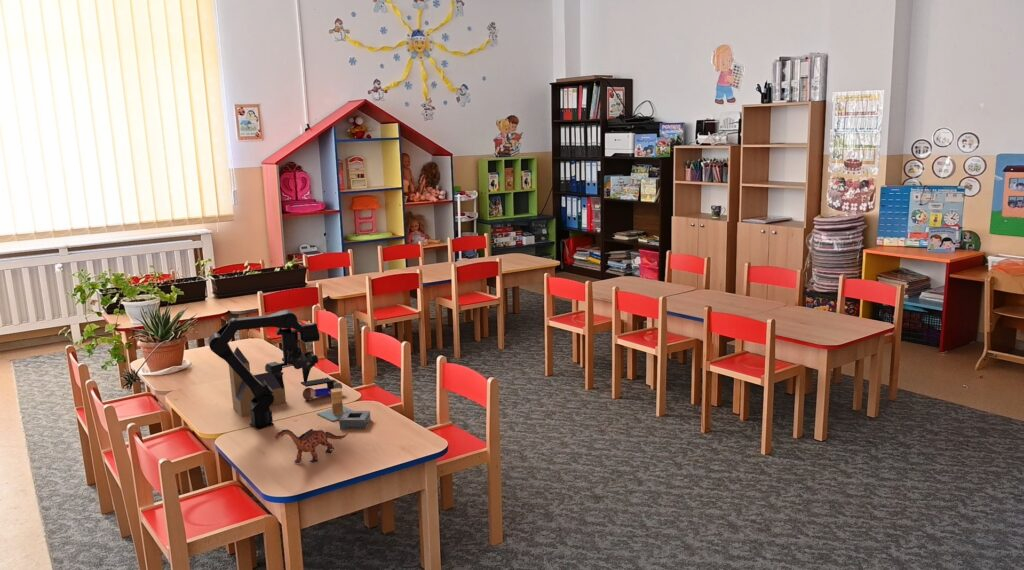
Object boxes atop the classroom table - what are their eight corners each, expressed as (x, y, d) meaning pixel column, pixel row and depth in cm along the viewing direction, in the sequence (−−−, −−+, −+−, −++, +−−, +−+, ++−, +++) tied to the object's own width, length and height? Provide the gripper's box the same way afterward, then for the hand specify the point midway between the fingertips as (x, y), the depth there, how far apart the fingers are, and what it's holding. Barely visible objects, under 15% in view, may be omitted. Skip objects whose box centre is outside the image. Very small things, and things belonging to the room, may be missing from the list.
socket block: (364, 429, 282) (364, 419, 282) (340, 429, 283) (339, 420, 282) (370, 419, 291) (369, 410, 290) (346, 419, 292) (345, 410, 291)
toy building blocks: (233, 408, 308) (226, 346, 303) (281, 397, 318) (275, 337, 313) (241, 417, 298) (235, 353, 293) (290, 406, 308) (285, 344, 303)
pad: (332, 421, 290) (332, 420, 290) (317, 414, 298) (317, 413, 298) (358, 413, 297) (358, 412, 297) (342, 406, 305) (342, 405, 305)
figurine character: (335, 394, 325) (299, 398, 316) (336, 375, 324) (300, 379, 315) (342, 398, 319) (306, 403, 310) (343, 380, 318) (306, 384, 309)
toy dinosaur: (269, 476, 247) (265, 430, 244) (331, 440, 273) (327, 399, 270) (290, 480, 243) (286, 434, 240) (350, 444, 270) (347, 402, 266)
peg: (343, 413, 297) (341, 390, 295) (333, 415, 296) (331, 392, 294) (342, 410, 300) (340, 387, 298) (332, 411, 299) (330, 389, 297)
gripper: (277, 354, 276) (281, 397, 279) (324, 343, 289) (327, 384, 292) (262, 348, 284) (266, 390, 287) (309, 338, 297) (312, 377, 300)
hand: (294, 385), depth 291 cm, fingers open, 9 cm apart
